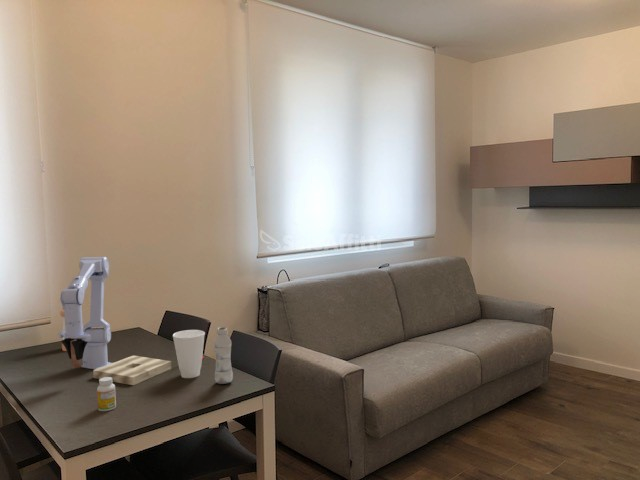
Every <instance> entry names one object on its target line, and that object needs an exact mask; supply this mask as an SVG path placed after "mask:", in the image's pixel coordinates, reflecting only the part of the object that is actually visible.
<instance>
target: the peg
mask: <svg viewBox="0 0 640 480" xmlns="http://www.w3.org/2000/svg"><path fill="white" fill-rule="evenodd" d="M73 341H76V340H72V341H70V343H71V342H73ZM70 360H71V368H72V369H78V368H82V367H81V366H82V359H80V360H76V356H75V350H74V347H73V345H72V343H71V359H70Z"/></svg>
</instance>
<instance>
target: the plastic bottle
mask: <svg viewBox="0 0 640 480" xmlns="http://www.w3.org/2000/svg"><path fill="white" fill-rule="evenodd" d="M216 335H217V336H216V337H215V338H214V340H213V348H214V354H215V355H214V357H215V372H214V379H215V382H216V383H217V384H219V385H224V384H225V385H226V384H230V383H231V382H232V381H233V377H234V373H233V368H232V362H231V361H232V360H231V355H232V354H231V353H232V340H231V338H230V336H228V327H223V326H221V327H217V328H216Z"/></svg>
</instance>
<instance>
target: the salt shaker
mask: <svg viewBox="0 0 640 480" xmlns="http://www.w3.org/2000/svg"><path fill="white" fill-rule="evenodd" d="M59 315H60V317H62V330H61V332H62V331H66V330H65V315H64V310H63V309H62V310H61V311H60V312H59ZM62 340H65V338H63V337H62ZM61 349H62V351H63V352H67V350H66V348H65V346H64V345H63V343H62V342H61Z"/></svg>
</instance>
